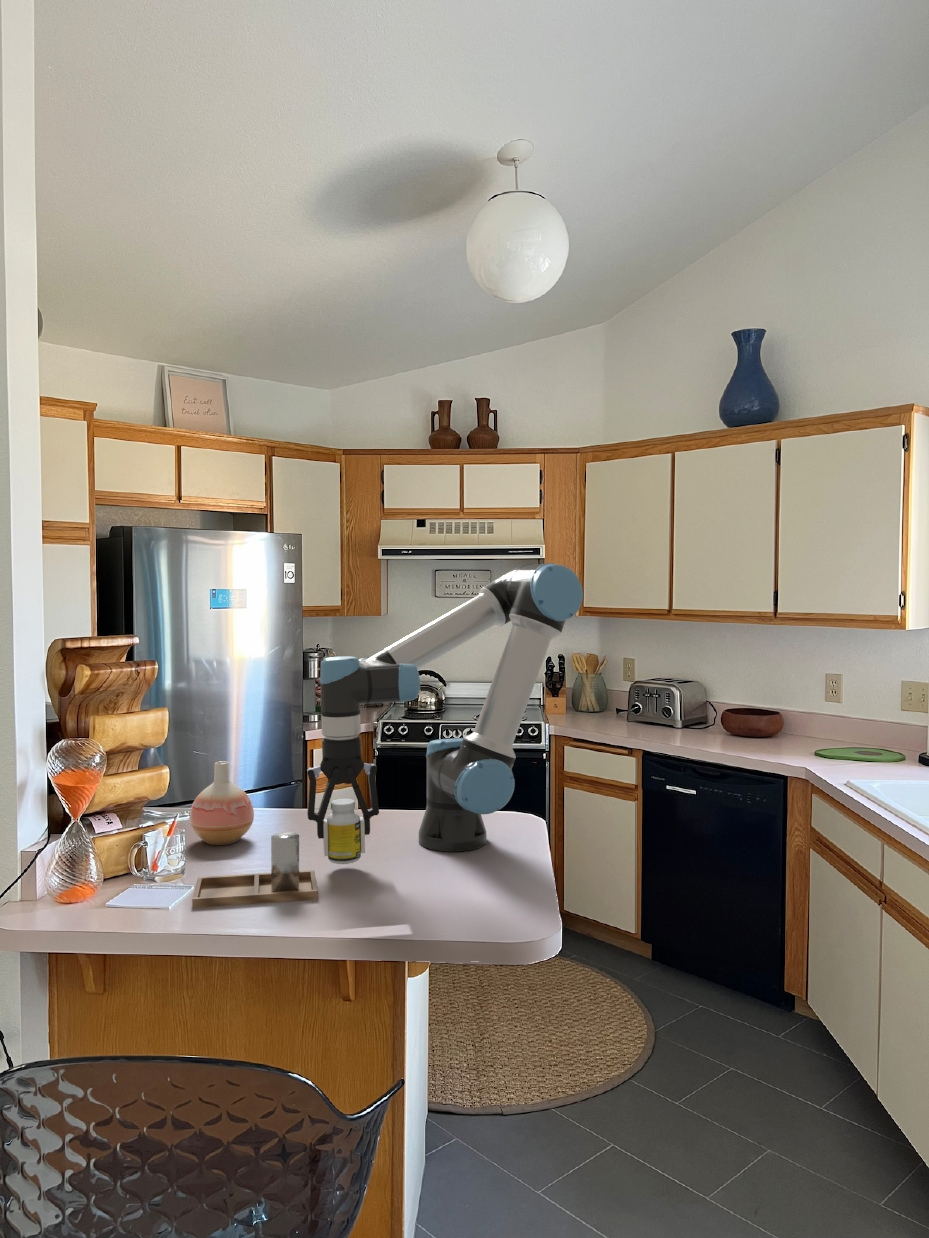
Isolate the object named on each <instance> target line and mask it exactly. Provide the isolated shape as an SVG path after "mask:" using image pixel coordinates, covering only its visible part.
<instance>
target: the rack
mask: <svg viewBox="0 0 929 1238" xmlns="http://www.w3.org/2000/svg"><path fill="white" fill-rule="evenodd" d="M315 871H316V870H315V869H310V870H299V891H285V892H271V872H260V873H244V874H228V875H227V874H226V875H214V876H213V875H211V876H198V877H197V879H196V883H195V887H194V892H193V895H192V901H191V903H192V904H191V907H192V909H198V908H199V909H200V908H215V907H226V906H228V907H229V906H242V905H243V906H245V905H256V904H270V903H271V904H272V903H273V904H274V903H285V902H286V903H287V902H300V901H301V902H302V901H313V900H319V899H318V896H319V895H318V891H319V889H318V886H317V878H316V872H315Z"/></svg>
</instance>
